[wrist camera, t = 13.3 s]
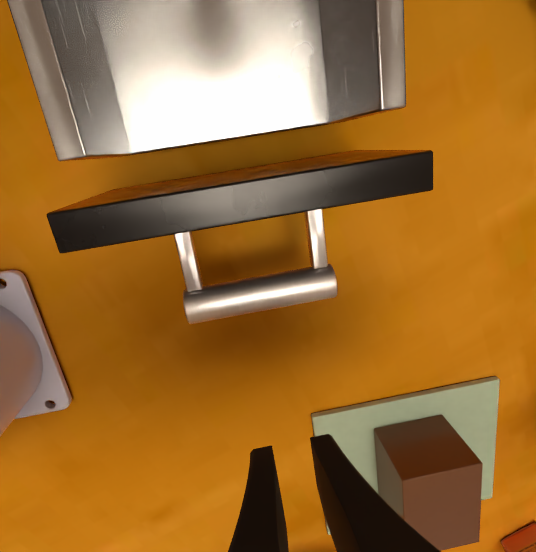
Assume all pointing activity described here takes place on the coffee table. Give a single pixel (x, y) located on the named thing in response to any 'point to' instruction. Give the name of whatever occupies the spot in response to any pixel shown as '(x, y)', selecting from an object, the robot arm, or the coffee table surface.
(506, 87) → the coffee table surface
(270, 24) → the drawer
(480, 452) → the mat
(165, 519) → the coffee table surface
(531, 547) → the supplement box
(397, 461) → the brown block
